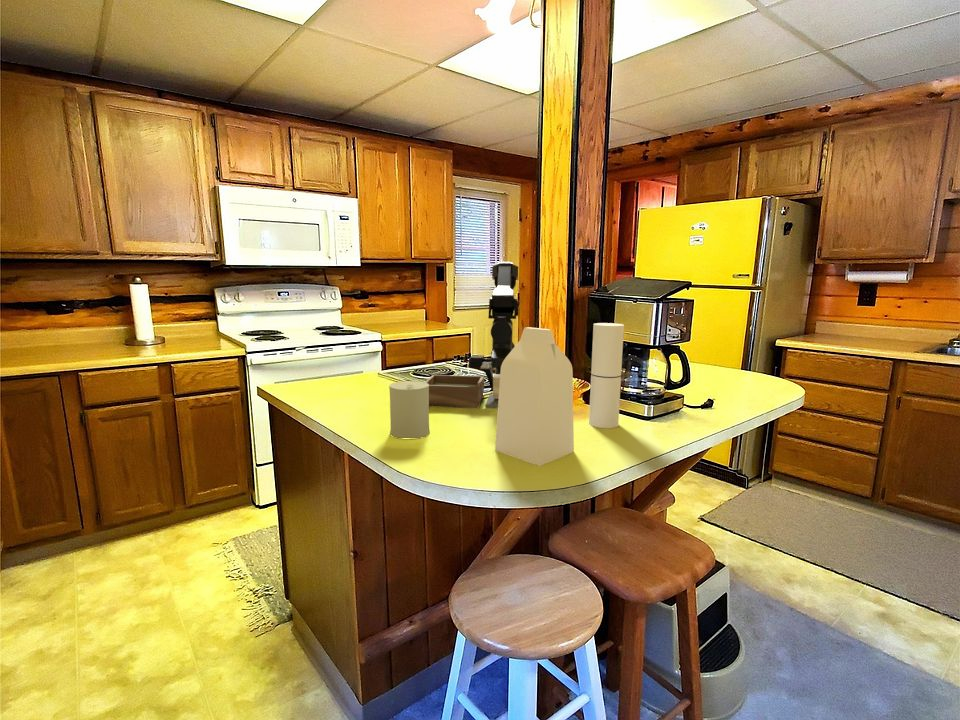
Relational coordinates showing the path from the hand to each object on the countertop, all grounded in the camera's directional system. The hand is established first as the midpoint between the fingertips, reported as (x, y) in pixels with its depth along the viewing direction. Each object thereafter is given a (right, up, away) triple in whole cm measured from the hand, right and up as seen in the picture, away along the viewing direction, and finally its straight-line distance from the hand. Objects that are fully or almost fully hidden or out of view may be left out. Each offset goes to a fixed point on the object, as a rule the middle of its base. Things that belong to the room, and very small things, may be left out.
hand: (501, 391), depth 144 cm
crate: (-14, -3, +2) cm, 14 cm away
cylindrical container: (+25, -7, -20) cm, 32 cm away
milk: (+5, -10, -39) cm, 41 cm away
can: (-23, -8, -28) cm, 37 cm away
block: (0, -1, 0) cm, 2 cm away
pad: (0, -3, +1) cm, 3 cm away
